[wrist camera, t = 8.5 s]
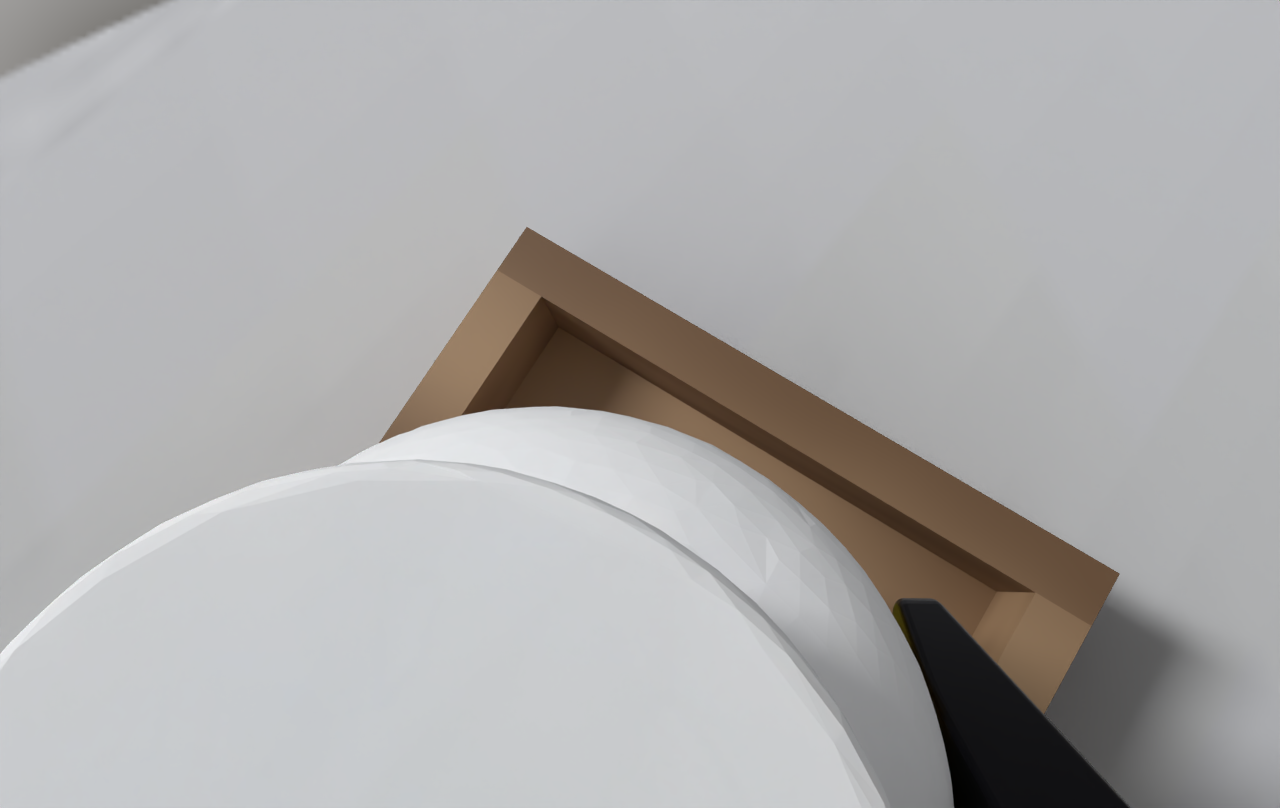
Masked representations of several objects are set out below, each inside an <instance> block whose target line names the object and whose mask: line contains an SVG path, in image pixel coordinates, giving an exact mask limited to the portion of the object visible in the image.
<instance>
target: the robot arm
mask: <svg viewBox="0 0 1280 808" xmlns="http://www.w3.org/2000/svg"><path fill="white" fill-rule="evenodd" d="M892 615H893V616H894V618H895V620H896V621H897V623H898V625H899V627H900V628H901V630H902V632H903V634H904V636H905V638H906V640H907V642H908V644H909V646H910V648H911V650H912V652H913V654H914V656H915V658H916V660H917V662H918V664H919V666H920V669H921V671H922V674H923V677H924V680H925V682H926V685H927V688H928V691H929V694H930V697H931V700H932V703H933V706H934V710H935V713H936V716H937V720H938V723H939V727H940V731H941V734H942V738H943V741H944V746H945V751H946V756H947V761H948V766H949V771H950V776H951V782H952V791H953V801H954V808H1131V807H1130V806H1129V805H1128V804H1127V803H1126V802H1125V801H1124V800H1123V799H1122V798H1121V797H1120V795H1119V794H1118V793H1117V792H1116V791H1115V790H1114V789H1113V788H1112V787H1111V786H1110V785H1109V784H1108V783H1107V781H1106V780H1105V779H1104V778H1103V777H1102V776H1101V775H1100V774H1099V773H1098V772H1097V771H1096V770H1095V769H1094V767H1093V766H1092V765H1091V764H1090V763H1089V762H1088V761H1087V760H1086V759H1085V758H1084V757H1083V756H1082V755H1081V753H1080V752H1079V751H1078V750H1077V749H1076V748H1075V747H1074V746H1073V745H1072V744H1071V743H1070V742H1069V741H1068V739H1067V738H1066V737H1065V736H1064V735H1063V734H1062V733H1061V732H1060V731H1059V730H1058V729H1057V728H1056V727H1055V725H1054V724H1053V723H1052V722H1051V721H1050V720H1049V719H1048V718H1047V717H1046V716H1045V715H1044V714H1043V713H1042V711H1041V710H1040V709H1039V708H1038V707H1037V706H1036V705H1035V704H1034V703H1033V702H1032V701H1031V700H1030V699H1029V697H1028V696H1027V695H1026V694H1025V693H1024V692H1023V691H1022V690H1021V689H1020V688H1019V687H1018V686H1017V685H1016V683H1015V682H1014V681H1013V680H1012V679H1011V678H1010V677H1009V676H1008V675H1007V674H1006V673H1005V672H1004V671H1003V669H1002V668H1001V667H1000V666H999V665H998V664H997V663H996V662H995V661H994V660H993V659H992V658H991V657H990V655H989V654H988V653H987V652H986V651H985V650H984V649H983V648H982V647H981V646H980V645H979V644H978V643H977V641H976V640H975V639H974V638H973V637H972V636H971V635H970V634H969V633H968V632H967V631H966V630H965V629H964V627H963V626H962V625H961V624H960V623H959V622H958V621H957V620H956V619H955V618H954V617H953V616H952V615H951V613H950V612H949V611H948V610H947V609H946V608H945V607H944V606H943V605H942V604H941V603H940V602H939V601H937V600H935V599H932V598H901V599H898V600H897V601H896V602H895V604H894V607H893V612H892Z"/></svg>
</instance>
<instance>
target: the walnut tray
mask: <svg viewBox="0 0 1280 808" xmlns="http://www.w3.org/2000/svg"><path fill="white" fill-rule="evenodd" d="M551 406H558V407H568V408H578V409H588V410H597V411H605V412H610V413H615V414H620V415H625V416H630V417H633V418H637V419H640V420H644V421H648V422H651V423H655V424H659V425H663V426H667V427H669V428H672V429H674V430H677V431H679V432H682V433H684V434H687V435H689V436H692V437H694V438H697V439H699V440H702V441H704V442H706V443H709V444H711V445H714V446H715V447H717V448H719V449H720V450H722V451H724V452H726V453H727V454H729V455H731V456H732V457H734V458H736V459H738V460H739V461H741V462H743V463H744V464H746V465H747V466H749V467H750V468H752V469H754V470H755V471H757V472H758V473H760V474H761V475H763V476H765V477H766V478H768V479H769V480H770V481H772V482H773V483H774V484H776V485H777V486H778V487H779V488H781V489H782V490H783V491H784V492H786V493H787V494H788V495H790V496H791V497H792V498H793V499H795V500H796V501H797V502H799V503H800V504H801V505H802V506H803V507H804V508H805V509H807V510H808V511H809V512H810V513H811V514H812V515H813V516H814V517H816V518H817V519H818V520H819V521H820V522H821V523H822V524H823V525H824V526H825V527H826V528H827V529H828V530H829V531H830V532H831V533H832V534H833V535H834V536H835V537H836V538H837V539H838V540H839V541H840V542H841V543H842V545H843V546H844V547H845V548H846V549H847V550H848V551H849V553H850V554H851V555H852V556H853V558H854V559H855V560H856V561H857V562H858V564H859V565H860V566H861V567H862V568H863V570H864V571H865V572H866V574H867V575H868V577H869V578H870V580H871V581H872V583H873V584H874V586H875V587H876V589H877V590H878V592H879V593H880V595H881V596H882V598H883V599H884V601H885V602H886V604H887V606H888V608H889V609H890V611H891V613H892V612H893V607H894V604H895V602H896V601H897V600H898V599H901V598H932V599H935V600H937V601H939V602H940V603H941V604H942V605H943V606H944V607H945V608H946V609H947V610H948V611H949V612H950V613H951V615H952V616H953V617H954V618H955V619H956V620H957V621H958V622H959V623H960V624H961V625H962V626H963V627H964V629H965V630H966V631H967V632H968V633H969V634H970V635H971V636H972V637H973V638H974V639H975V640H976V641H977V643H978V644H979V645H980V646H981V647H982V648H983V649H984V650H985V651H986V652H987V653H988V654H989V655H990V657H991V658H992V659H993V660H994V661H995V662H996V663H997V664H998V665H999V666H1000V667H1001V668H1002V669H1003V671H1004V672H1005V673H1006V674H1007V675H1008V676H1009V677H1010V678H1011V679H1012V680H1013V681H1014V682H1015V683H1016V685H1017V686H1018V687H1019V688H1020V689H1021V690H1022V691H1023V692H1024V693H1025V694H1026V695H1027V696H1028V697H1029V699H1030V700H1031V701H1032V702H1033V703H1034V704H1035V705H1036V706H1037V707H1038V708H1039V709H1040V710H1041V711H1042V713H1043V714H1044V713H1045V711H1046V710H1047V708H1048V706H1049V704H1050V702H1051V700H1052V698H1053V697H1054V695H1055V693H1056V691H1057V689H1058V687H1059V686H1060V684H1061V682H1062V680H1063V678H1064V676H1065V674H1066V673H1067V671H1068V669H1069V667H1070V665H1071V663H1072V661H1073V660H1074V658H1075V656H1076V654H1077V652H1078V650H1079V648H1080V647H1081V645H1082V643H1083V641H1084V639H1085V637H1086V635H1087V634H1088V632H1089V630H1090V628H1091V626H1092V624H1093V622H1094V621H1095V619H1096V617H1097V615H1098V613H1099V611H1100V609H1101V608H1102V606H1103V604H1104V602H1105V600H1106V598H1107V596H1108V595H1109V593H1110V591H1111V589H1112V587H1113V585H1114V583H1115V582H1116V580H1117V578H1118V576H1119V573H1118V572H1116V571H1114V570H1112V569H1111V568H1109V567H1107V566H1106V565H1104V564H1102V563H1100V562H1099V561H1097V560H1095V559H1094V558H1092V557H1090V556H1088V555H1087V554H1085V553H1083V552H1082V551H1080V550H1078V549H1077V548H1075V547H1073V546H1071V545H1070V544H1068V543H1066V542H1065V541H1063V540H1061V539H1059V538H1058V537H1056V536H1054V535H1053V534H1051V533H1049V532H1047V531H1046V530H1044V529H1042V528H1041V527H1039V526H1037V525H1035V524H1034V523H1032V522H1030V521H1029V520H1027V519H1025V518H1024V517H1022V516H1020V515H1018V514H1017V513H1015V512H1013V511H1012V510H1010V509H1008V508H1006V507H1005V506H1003V505H1001V504H1000V503H998V502H996V501H994V500H993V499H991V498H989V497H988V496H986V495H984V494H982V493H981V492H979V491H977V490H976V489H974V488H972V487H971V486H969V485H967V484H965V483H964V482H962V481H960V480H959V479H957V478H955V477H953V476H952V475H950V474H948V473H947V472H945V471H943V470H941V469H940V468H938V467H936V466H935V465H933V464H931V463H929V462H928V461H926V460H924V459H923V458H921V457H919V456H918V455H916V454H914V453H912V452H911V451H909V450H907V449H906V448H904V447H902V446H900V445H899V444H897V443H895V442H894V441H892V440H890V439H888V438H887V437H885V436H883V435H882V434H880V433H878V432H876V431H875V430H873V429H871V428H870V427H868V426H866V425H865V424H863V423H861V422H859V421H858V420H856V419H854V418H853V417H851V416H849V415H847V414H846V413H844V412H842V411H841V410H839V409H837V408H835V407H834V406H832V405H830V404H829V403H827V402H825V401H823V400H822V399H820V398H818V397H817V396H815V395H813V394H812V393H810V392H808V391H806V390H805V389H803V388H801V387H800V386H798V385H796V384H794V383H793V382H791V381H789V380H788V379H786V378H784V377H782V376H781V375H779V374H777V373H776V372H774V371H772V370H770V369H769V368H767V367H765V366H764V365H762V364H760V363H759V362H757V361H755V360H753V359H752V358H750V357H748V356H747V355H745V354H743V353H741V352H740V351H738V350H736V349H735V348H733V347H731V346H729V345H728V344H726V343H724V342H723V341H721V340H719V339H717V338H716V337H714V336H712V335H711V334H709V333H707V332H706V331H704V330H702V329H700V328H699V327H697V326H695V325H694V324H692V323H690V322H688V321H687V320H685V319H683V318H682V317H680V316H678V315H676V314H675V313H673V312H671V311H670V310H668V309H666V308H664V307H663V306H661V305H659V304H658V303H656V302H654V301H653V300H651V299H649V298H647V297H646V296H644V295H642V294H641V293H639V292H637V291H635V290H634V289H632V288H630V287H629V286H627V285H625V284H623V283H622V282H620V281H618V280H617V279H615V278H613V277H611V276H610V275H608V274H606V273H605V272H603V271H601V270H600V269H598V268H596V267H594V266H593V265H591V264H589V263H588V262H586V261H584V260H582V259H581V258H579V257H577V256H576V255H574V254H572V253H570V252H569V251H567V250H565V249H564V248H562V247H560V246H558V245H557V244H555V243H553V242H552V241H550V240H548V239H547V238H545V237H543V236H541V235H540V234H538V233H536V232H535V231H533V230H531V229H529V228H528V227H526V229H525V230H524V232H523V233H522V235H521V236H520V238H519V239H518V241H517V242H516V243H515V245H514V246H513V248H512V249H511V251H510V252H509V254H508V255H507V257H506V258H505V260H504V261H503V263H502V264H501V265H500V267H499V268H498V270H497V271H496V273H495V274H494V276H493V277H492V279H491V280H490V282H489V283H488V284H487V286H486V287H485V289H484V290H483V292H482V293H481V295H480V296H479V298H478V299H477V301H476V302H475V303H474V305H473V306H472V308H471V309H470V311H469V312H468V314H467V315H466V317H465V318H464V320H463V321H462V323H461V324H460V325H459V327H458V328H457V330H456V331H455V333H454V334H453V336H452V337H451V339H450V340H449V342H448V343H447V344H446V346H445V347H444V349H443V350H442V352H441V353H440V355H439V356H438V358H437V359H436V361H435V362H434V363H433V365H432V366H431V368H430V369H429V371H428V372H427V374H426V375H425V377H424V378H423V380H422V381H421V382H420V384H419V385H418V387H417V388H416V390H415V391H414V393H413V394H412V396H411V397H410V399H409V400H408V402H407V403H406V404H405V406H404V407H403V409H402V410H401V412H400V413H399V415H398V416H397V418H396V419H395V421H394V422H393V423H392V425H391V426H390V428H389V429H388V431H387V432H386V434H385V435H384V437H383V438H382V440H381V441H380V442H379V443H381V442H383V441H385V440H388V439H390V438H392V437H394V436H397V435H399V434H403V433H406V432H409V431H412V430H414V429H416V428H419V427H421V426H424V425H428V424H432V423H435V422H439V421H443V420H446V419H450V418H454V417H458V416H462V415H467V414H472V413H478V412H483V411H488V410H496V409H510V408H525V407H551Z"/></svg>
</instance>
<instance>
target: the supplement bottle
mask: <svg viewBox="0 0 1280 808" xmlns="http://www.w3.org/2000/svg"><path fill="white" fill-rule="evenodd" d="M0 808H954V801H953V791H952V782H951V776H950V771H949V766H948V761H947V756H946V751H945V746H944V741H943V738H942V734H941V731H940V727H939V723H938V720H937V716H936V713H935V710H934V706H933V703H932V700H931V697H930V694H929V691H928V688H927V685H926V682H925V680H924V677H923V674H922V671H921V669H920V666H919V664H918V662H917V660H916V658H915V656H914V654H913V652H912V650H911V648H910V646H909V644H908V642H907V640H906V638H905V636H904V634H903V632H902V630H901V628H900V627H899V625H898V623H897V621H896V620H895V618H894V616H893V615H892V613H891V611H890V609H889V608H888V606H887V604H886V602H885V601H884V599H883V598H882V596H881V595H880V593H879V592H878V590H877V589H876V587H875V586H874V584H873V583H872V581H871V580H870V578H869V577H868V575H867V574H866V572H865V571H864V570H863V568H862V567H861V566H860V565H859V564H858V562H857V561H856V560H855V559H854V558H853V556H852V555H851V554H850V553H849V551H848V550H847V549H846V548H845V547H844V546H843V545H842V543H841V542H840V541H839V540H838V539H837V538H836V537H835V536H834V535H833V534H832V533H831V532H830V531H829V530H828V529H827V528H826V527H825V526H824V525H823V524H822V523H821V522H820V521H819V520H818V519H817V518H816V517H814V516H813V515H812V514H811V513H810V512H809V511H808V510H807V509H805V508H804V507H803V506H802V505H801V504H800V503H799V502H797V501H796V500H795V499H793V498H792V497H791V496H790V495H788V494H787V493H786V492H784V491H783V490H782V489H781V488H779V487H778V486H777V485H776V484H774V483H773V482H772V481H770V480H769V479H768V478H766V477H765V476H763V475H761V474H760V473H758V472H757V471H755V470H754V469H752V468H750V467H749V466H747V465H746V464H744V463H743V462H741V461H739V460H738V459H736V458H734V457H732V456H731V455H729V454H727V453H726V452H724V451H722V450H720V449H719V448H717V447H715V446H714V445H711V444H709V443H706V442H704V441H702V440H699V439H697V438H694V437H692V436H689V435H687V434H684V433H682V432H679V431H677V430H674V429H672V428H669V427H667V426H663V425H659V424H655V423H651V422H648V421H644V420H640V419H637V418H633V417H630V416H625V415H620V414H615V413H610V412H605V411H597V410H588V409H578V408H568V407H558V406H551V407H525V408H510V409H496V410H488V411H483V412H478V413H472V414H467V415H462V416H458V417H454V418H450V419H446V420H443V421H439V422H435V423H432V424H428V425H424V426H421V427H419V428H416V429H414V430H412V431H409V432H406V433H403V434H399V435H397V436H394V437H392V438H390V439H388V440H385V441H383V442H381V443H379V444H377V445H375V446H372V447H370V448H368V449H366V450H364V451H362V452H361V453H359V454H357V455H355V456H354V457H352V458H350V459H348V460H347V461H345V462H343V463H341V464H340V465H336V466H330V467H324V468H318V469H312V470H307V471H303V472H298V473H294V474H290V475H286V476H281V477H277V478H273V479H269V480H264V481H260V482H258V483H255V484H253V485H250V486H247V487H245V488H242V489H240V490H237V491H235V492H232V493H229V494H227V495H224V496H222V497H219V498H216V499H214V500H211V501H209V502H207V503H205V504H203V505H200V506H198V507H196V508H194V509H192V510H190V511H187V512H185V513H183V514H181V515H179V516H177V517H174V518H172V519H170V520H168V521H166V522H164V523H161V524H160V525H158V526H157V527H155V528H154V529H152V530H150V531H149V532H147V533H146V534H144V535H142V536H141V537H139V538H138V539H136V540H135V541H133V542H131V543H130V544H128V545H127V546H125V547H124V548H122V549H120V550H119V551H117V552H116V553H114V554H113V555H111V556H110V557H109V558H107V559H106V560H104V561H103V562H102V563H100V564H99V565H97V566H96V567H95V568H93V569H92V570H90V571H89V572H88V573H86V574H85V575H83V576H82V577H81V578H79V579H78V580H77V581H76V582H75V583H74V584H72V585H71V586H70V587H69V588H68V589H67V590H66V591H64V592H63V593H62V594H61V595H60V596H59V597H57V598H56V599H55V600H54V601H53V602H52V603H51V604H50V605H49V606H48V607H46V608H45V609H44V610H43V611H42V612H41V613H40V614H39V615H38V616H37V617H36V618H35V619H34V620H33V621H32V622H31V623H30V624H29V625H28V626H27V627H25V628H24V629H23V630H22V631H21V632H20V633H19V634H18V635H17V636H16V637H15V638H14V639H13V640H12V641H11V642H10V643H9V644H8V645H7V647H6V648H5V649H4V650H3V651H2V653H1V654H0Z"/></svg>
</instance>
